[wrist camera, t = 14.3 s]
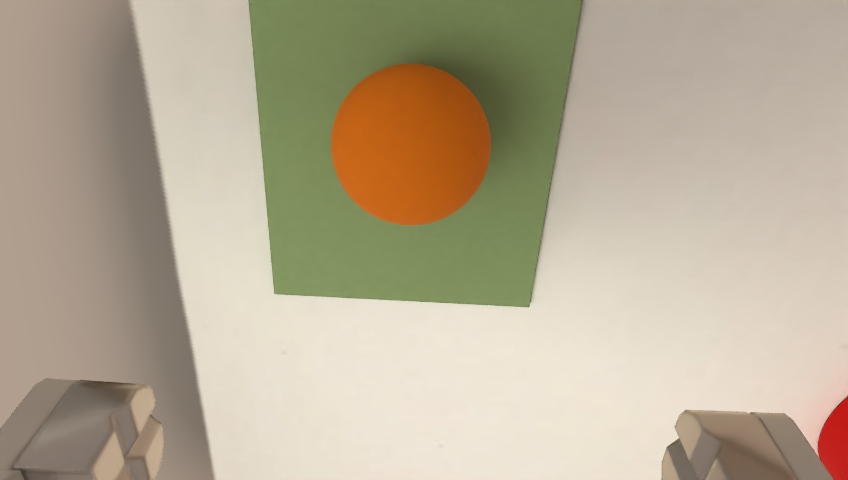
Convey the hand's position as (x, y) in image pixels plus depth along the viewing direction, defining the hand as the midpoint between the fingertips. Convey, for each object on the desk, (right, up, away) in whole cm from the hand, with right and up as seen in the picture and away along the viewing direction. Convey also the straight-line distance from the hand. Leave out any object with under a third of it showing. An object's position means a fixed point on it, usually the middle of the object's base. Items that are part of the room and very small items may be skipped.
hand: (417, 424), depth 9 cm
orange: (0, +8, +14) cm, 16 cm away
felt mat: (0, +8, +15) cm, 17 cm away
